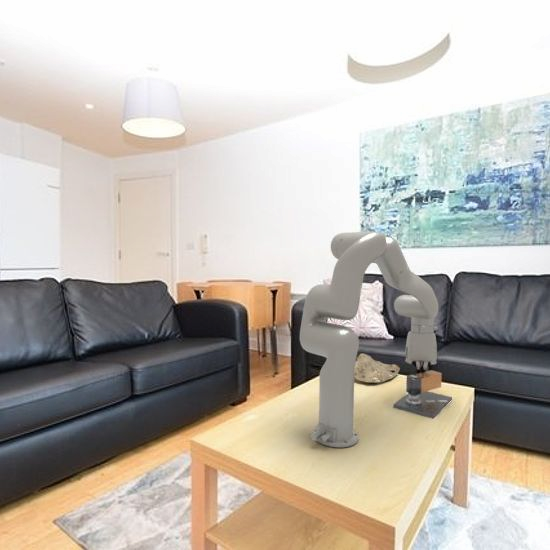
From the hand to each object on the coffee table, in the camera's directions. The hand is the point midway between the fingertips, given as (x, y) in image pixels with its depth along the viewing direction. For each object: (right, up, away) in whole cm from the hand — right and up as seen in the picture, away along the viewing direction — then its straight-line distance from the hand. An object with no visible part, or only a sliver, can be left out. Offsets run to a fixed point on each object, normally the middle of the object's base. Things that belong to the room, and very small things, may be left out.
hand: (420, 379), depth 138 cm
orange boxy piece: (-1, -2, -6) cm, 6 cm away
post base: (-1, -7, -7) cm, 9 cm away
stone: (-9, -5, +25) cm, 27 cm away
